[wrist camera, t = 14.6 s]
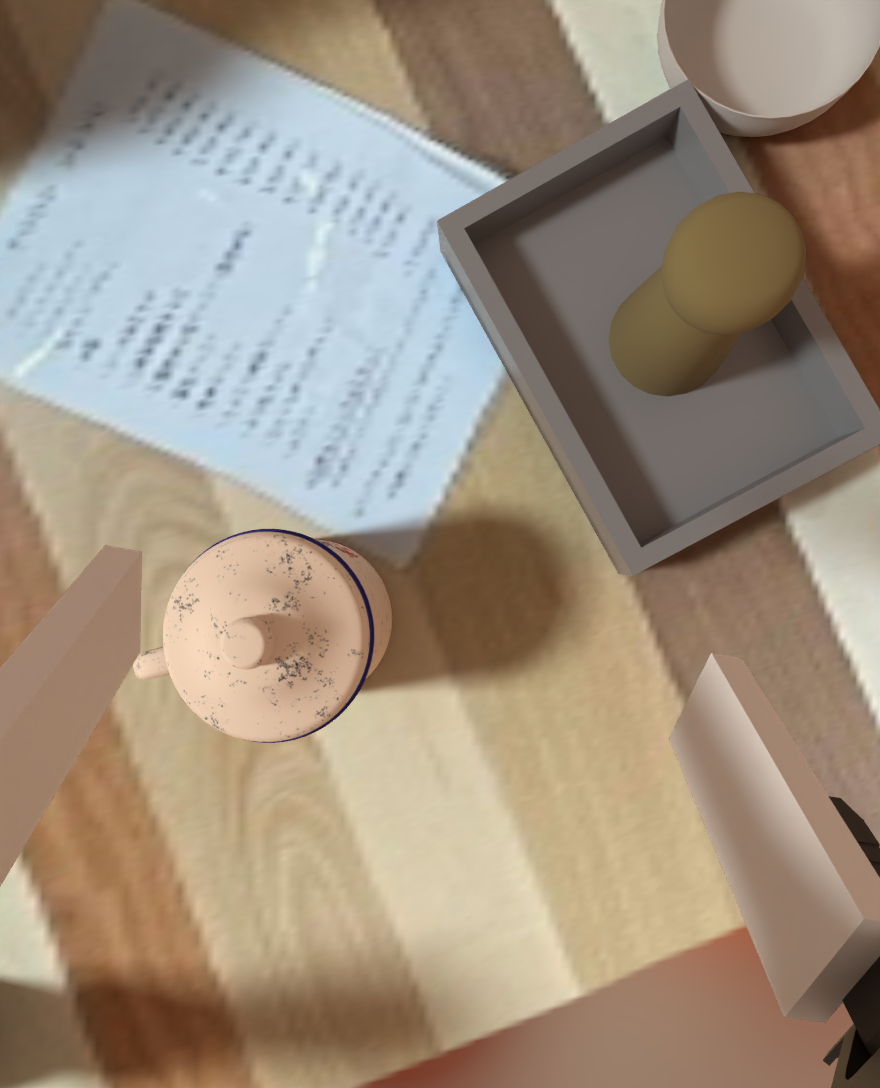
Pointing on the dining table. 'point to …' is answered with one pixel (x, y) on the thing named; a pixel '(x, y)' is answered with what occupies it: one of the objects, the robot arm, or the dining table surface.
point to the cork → (708, 292)
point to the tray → (584, 326)
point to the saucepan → (767, 57)
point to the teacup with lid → (272, 634)
